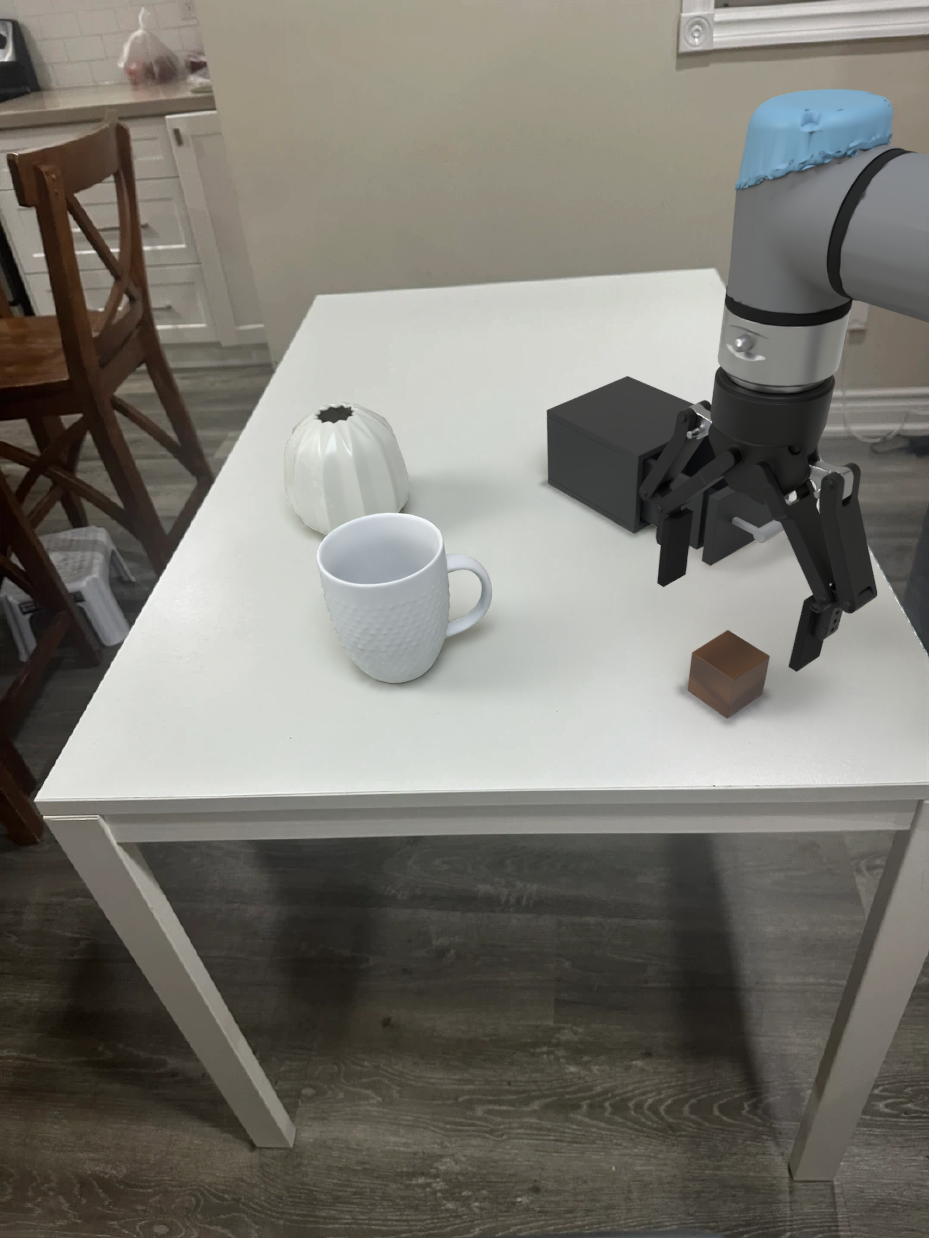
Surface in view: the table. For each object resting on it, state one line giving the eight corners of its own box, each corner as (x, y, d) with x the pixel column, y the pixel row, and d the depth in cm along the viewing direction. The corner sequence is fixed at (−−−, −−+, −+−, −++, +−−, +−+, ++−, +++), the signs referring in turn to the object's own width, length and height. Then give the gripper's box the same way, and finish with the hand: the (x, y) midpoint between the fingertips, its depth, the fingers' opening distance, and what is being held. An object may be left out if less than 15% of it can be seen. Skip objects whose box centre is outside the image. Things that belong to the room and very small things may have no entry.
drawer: (817, 540, 89) (832, 474, 84) (743, 585, 85) (754, 518, 80) (689, 476, 101) (695, 415, 96) (617, 512, 96) (619, 450, 91)
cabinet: (713, 492, 100) (722, 415, 93) (634, 533, 94) (638, 456, 88) (624, 447, 109) (627, 375, 103) (547, 483, 104) (546, 409, 98)
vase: (435, 517, 100) (423, 411, 92) (333, 566, 94) (309, 457, 86) (372, 474, 109) (355, 373, 100) (274, 517, 103) (247, 413, 94)
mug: (482, 605, 87) (472, 494, 79) (510, 678, 79) (502, 561, 70) (335, 635, 85) (309, 524, 77) (347, 712, 77) (320, 597, 68)
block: (762, 694, 74) (770, 655, 72) (727, 718, 73) (733, 680, 70) (722, 667, 77) (728, 629, 75) (687, 690, 76) (691, 652, 73)
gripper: (601, 332, 63) (594, 566, 76) (918, 460, 47) (837, 727, 60) (674, 304, 66) (654, 534, 80) (995, 415, 50) (901, 679, 63)
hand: (733, 618), depth 70 cm, fingers open, 13 cm apart
